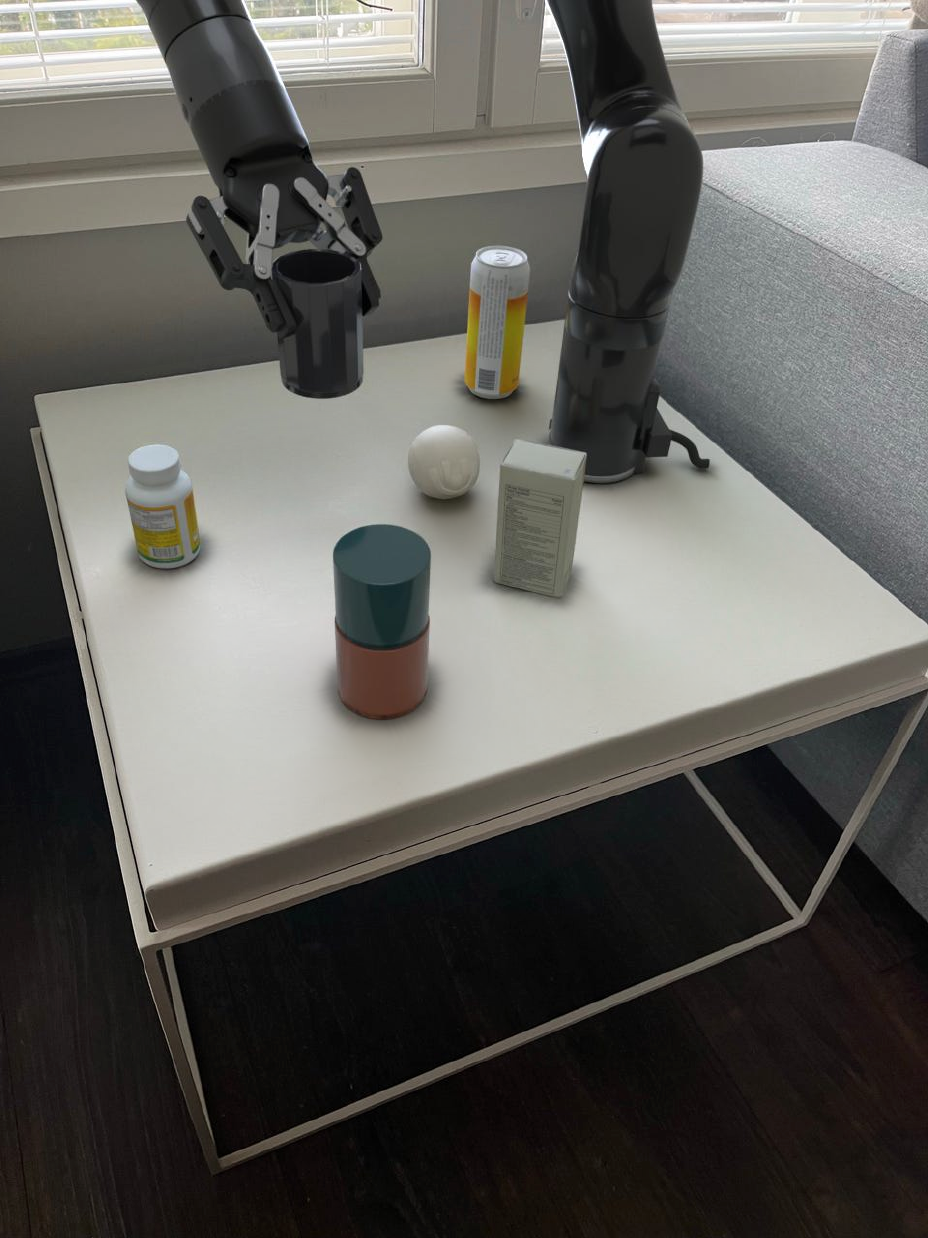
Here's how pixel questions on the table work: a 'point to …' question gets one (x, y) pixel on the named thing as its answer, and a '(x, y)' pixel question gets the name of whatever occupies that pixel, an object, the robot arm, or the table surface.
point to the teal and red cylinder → (382, 619)
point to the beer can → (496, 321)
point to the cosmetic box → (538, 516)
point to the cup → (321, 323)
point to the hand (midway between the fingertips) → (331, 321)
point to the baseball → (444, 462)
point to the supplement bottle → (162, 507)
